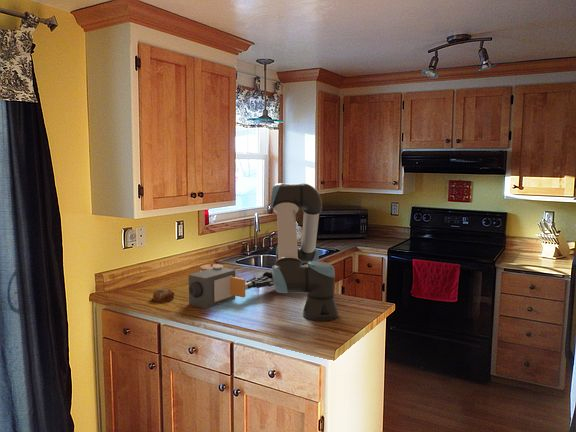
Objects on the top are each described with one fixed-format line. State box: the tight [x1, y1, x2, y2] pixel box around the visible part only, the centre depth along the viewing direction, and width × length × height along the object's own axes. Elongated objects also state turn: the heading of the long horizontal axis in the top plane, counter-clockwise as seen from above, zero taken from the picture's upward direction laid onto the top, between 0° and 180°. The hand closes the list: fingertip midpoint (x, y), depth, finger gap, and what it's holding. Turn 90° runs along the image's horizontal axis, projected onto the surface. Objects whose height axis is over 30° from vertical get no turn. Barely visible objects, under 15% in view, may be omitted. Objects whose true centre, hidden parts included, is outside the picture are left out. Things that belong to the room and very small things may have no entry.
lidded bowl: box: [199, 262, 225, 272], centre depth 265 cm, size 13×13×11 cm
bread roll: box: [152, 286, 175, 303], centre depth 235 cm, size 10×10×8 cm
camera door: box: [214, 275, 246, 302], centre depth 226 cm, size 9×12×10 cm
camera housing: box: [187, 266, 236, 309], centre depth 231 cm, size 11×22×15 cm, turn 145°
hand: (242, 287), depth 230 cm, fingers closed
